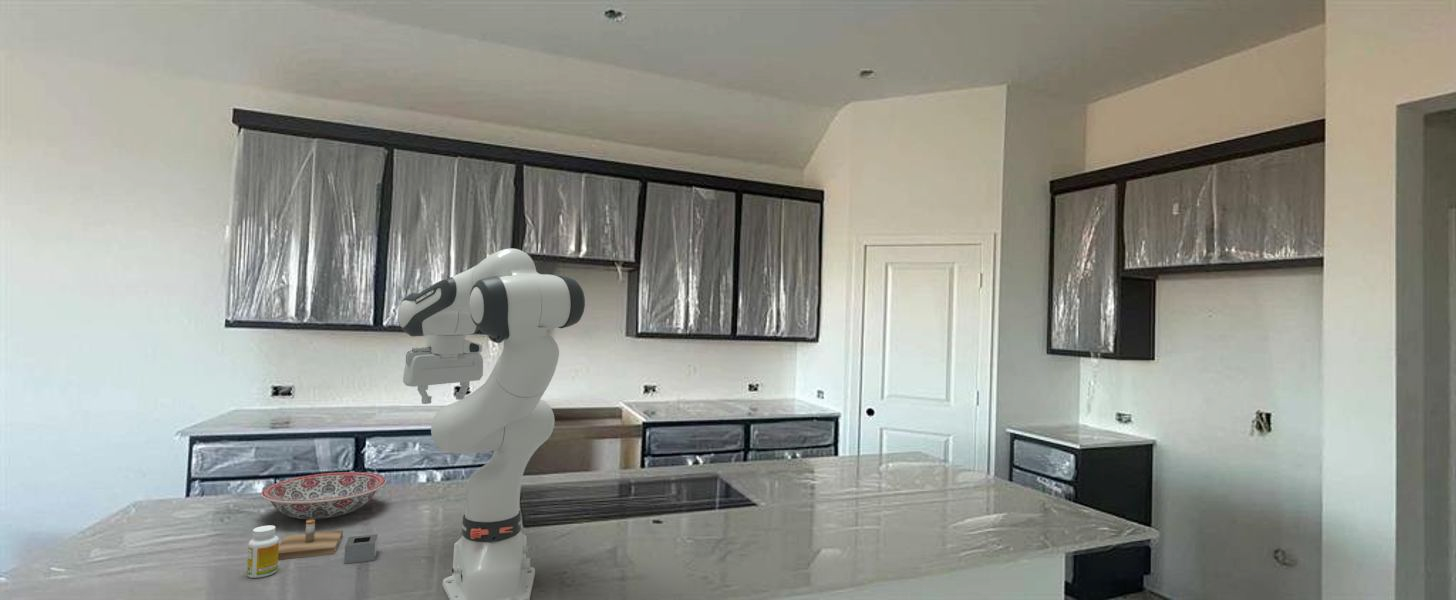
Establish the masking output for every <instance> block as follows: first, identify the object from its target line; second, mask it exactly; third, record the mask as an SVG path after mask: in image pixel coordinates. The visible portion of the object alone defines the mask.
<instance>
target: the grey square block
mask: <svg viewBox="0 0 1456 600" xmlns="http://www.w3.org/2000/svg"><path fill="white" fill-rule="evenodd" d="M378 541H379V534H378V533H377V534H366V535H365V534H364V535H357V536H355V535H354V536H349V537H348V538H347V541H346V542H345V545H344V559H343V564H344V565H346V564H354V563H364V562H373V561H375V560H376V557H377V553H378V549H379V548H378V544H379V542H378Z"/></svg>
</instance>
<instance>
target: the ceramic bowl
mask: <svg viewBox="0 0 1456 600" xmlns="http://www.w3.org/2000/svg"><path fill="white" fill-rule="evenodd" d="M386 484H387V480H386V478H385V477H384V476H382V475H379V474H377V473H373V472H372V473H371V472H363V471H343V472H342V471H339V472H324V473H316V474H309V475H303V476H298V477H294V478H293V477H292V478H289V479H285V480H282V481H281V480H280V481H279V482H276V483H274V484H271V485H268V486H267V487H265V488H264V489H262V491H261V492H260V496H261V498H262V499H263V500H266V501H268V502H270V503H271V505H272V506H273V507H274V508H275V509H276V510H277V511H278V512H281V513H282V514H283V515H286V516H288V517H290V518H294V519H301V520H310V519H315V520H323V519H330V518H335V517H339V516H343V515H347V514H349V513H352V512H354V511H356V510H358V509H360V508H361V507H363V506H364V505H366V504H367V503H368V502H369V501H370V500H371V499H372V498H373V497H374V496H375V494H376V493H377V492H378V490H379V489H382V488H383V487H385V485H386Z"/></svg>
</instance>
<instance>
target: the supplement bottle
mask: <svg viewBox="0 0 1456 600" xmlns="http://www.w3.org/2000/svg"><path fill="white" fill-rule="evenodd" d="M276 532H277V531H276V526H275V525H270V524H269V525H261V526H258V527H257V526H256V527H255V528H253V530H252V537H253V538H252V539H251V540H249V541H248V545H247V566H246V572H247V573H246V575H247V577H248V578H251V579H258V578H265V577H268V576H272V575H274V574H275V573H276V572H277V571H278V568H279V560H278V551H279V545H280V539H279V537H278V536H277V535H276Z"/></svg>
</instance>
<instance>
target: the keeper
mask: <svg viewBox="0 0 1456 600" xmlns="http://www.w3.org/2000/svg"><path fill="white" fill-rule="evenodd" d="M315 531H316V519H306V521H305V533H301V534H291V535H285V537H284V538H283V539H282V540H281V542H279V551H278V561H279V560H280V561H281V560H289V559H299V558H309V557H319V556H328V555H329V556H330V555H335V553H336V551H337V549H338V547H339V545H340V543H341V540H342V539H343V537H344V536H343V535H344V531H343V530H334V531H332V530H331V531H323V532H322V531H321V532H315Z"/></svg>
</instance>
